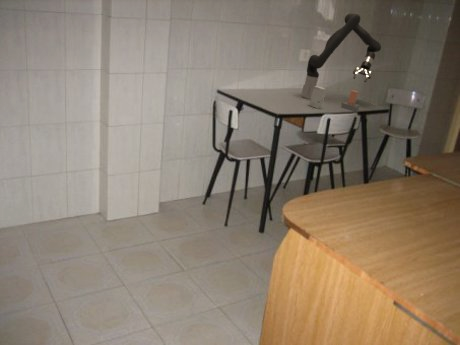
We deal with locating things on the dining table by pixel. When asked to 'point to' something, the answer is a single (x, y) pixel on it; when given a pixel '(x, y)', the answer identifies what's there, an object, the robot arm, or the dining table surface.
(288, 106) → the dining table surface
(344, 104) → the charcoal block
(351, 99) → the brick pillar
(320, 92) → the skincare box
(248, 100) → the dining table surface
